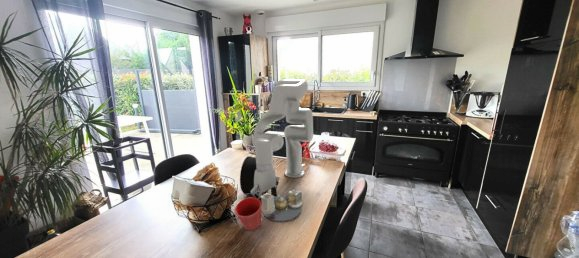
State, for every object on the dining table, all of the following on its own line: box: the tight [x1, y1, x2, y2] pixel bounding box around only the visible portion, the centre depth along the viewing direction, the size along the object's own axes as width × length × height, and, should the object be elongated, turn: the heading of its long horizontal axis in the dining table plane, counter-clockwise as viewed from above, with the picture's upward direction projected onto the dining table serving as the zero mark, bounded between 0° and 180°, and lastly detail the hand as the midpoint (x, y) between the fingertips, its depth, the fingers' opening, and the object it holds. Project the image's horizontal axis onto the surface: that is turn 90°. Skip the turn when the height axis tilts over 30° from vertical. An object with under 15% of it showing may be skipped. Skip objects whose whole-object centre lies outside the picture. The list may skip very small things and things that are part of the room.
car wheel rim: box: [239, 155, 269, 196], centre depth 121 cm, size 20×10×20 cm, turn 168°
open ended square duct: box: [260, 192, 275, 214], centre depth 105 cm, size 7×7×7 cm
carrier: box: [262, 188, 304, 223], centre depth 107 cm, size 19×19×8 cm
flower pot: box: [234, 196, 263, 231], centre depth 95 cm, size 11×11×10 cm
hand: (266, 200), depth 105 cm, fingers open, 9 cm apart
